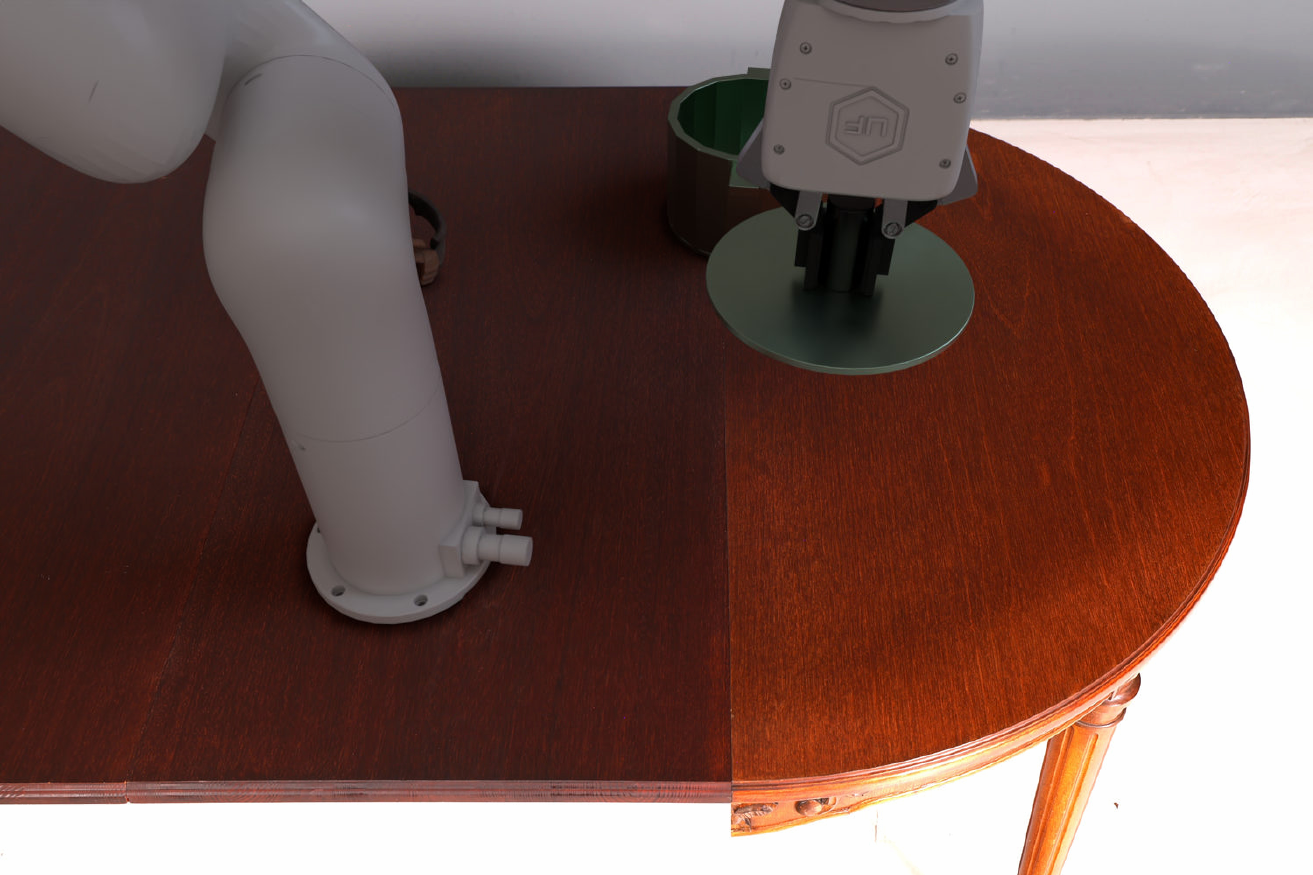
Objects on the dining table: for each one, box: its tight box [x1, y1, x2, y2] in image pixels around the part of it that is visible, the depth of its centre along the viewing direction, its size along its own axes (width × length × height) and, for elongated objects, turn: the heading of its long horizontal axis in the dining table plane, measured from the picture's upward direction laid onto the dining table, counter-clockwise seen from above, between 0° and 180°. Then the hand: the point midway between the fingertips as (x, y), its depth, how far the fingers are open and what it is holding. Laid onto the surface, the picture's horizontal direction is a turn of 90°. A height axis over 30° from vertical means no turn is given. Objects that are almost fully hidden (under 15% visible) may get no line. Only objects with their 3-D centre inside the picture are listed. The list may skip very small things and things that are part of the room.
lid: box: [705, 194, 976, 376], centre depth 60 cm, size 16×16×7 cm
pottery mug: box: [408, 187, 448, 286], centre depth 90 cm, size 12×10×8 cm
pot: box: [666, 66, 829, 259], centre depth 94 cm, size 15×20×10 cm
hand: (839, 275), depth 61 cm, fingers closed on lid, 2 cm apart
